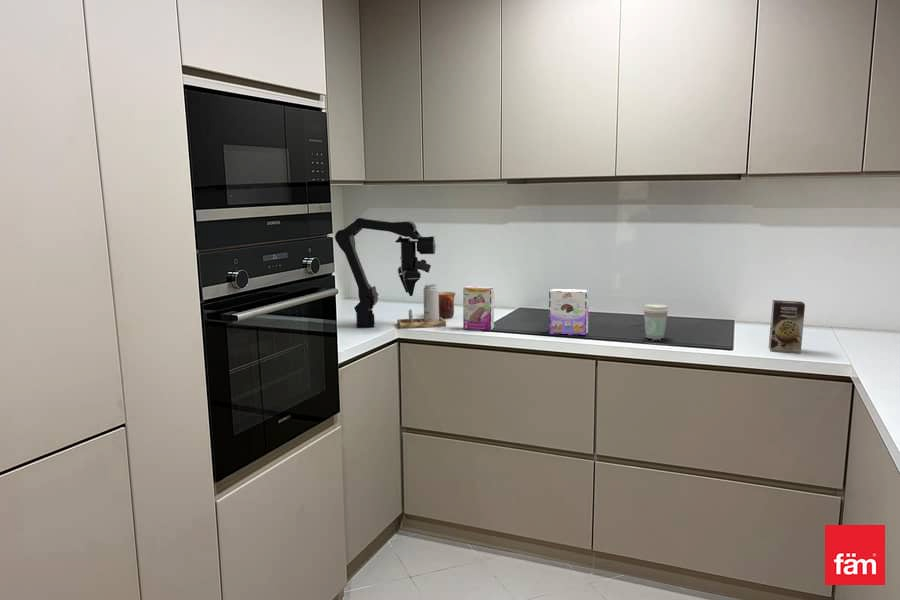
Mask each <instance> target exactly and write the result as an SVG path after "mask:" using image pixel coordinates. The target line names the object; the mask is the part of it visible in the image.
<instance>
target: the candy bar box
mask: <svg viewBox="0 0 900 600" xmlns="http://www.w3.org/2000/svg"><path fill="white" fill-rule="evenodd" d="M462 298H463V308H462V311H463V314H462V317H463V320H462V321H463V324H462V325H463V328H462V329H463V330H466V331H467V330H469V331H470V330H471V331H483V332H484V331H485V332H491V330H492V329H493V328H494V329H495V287H493V286H477V285H475V286H474V285H466V286H464V287H463V297H462ZM494 329H493V330H494ZM493 330H492V331H493Z"/></svg>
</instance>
